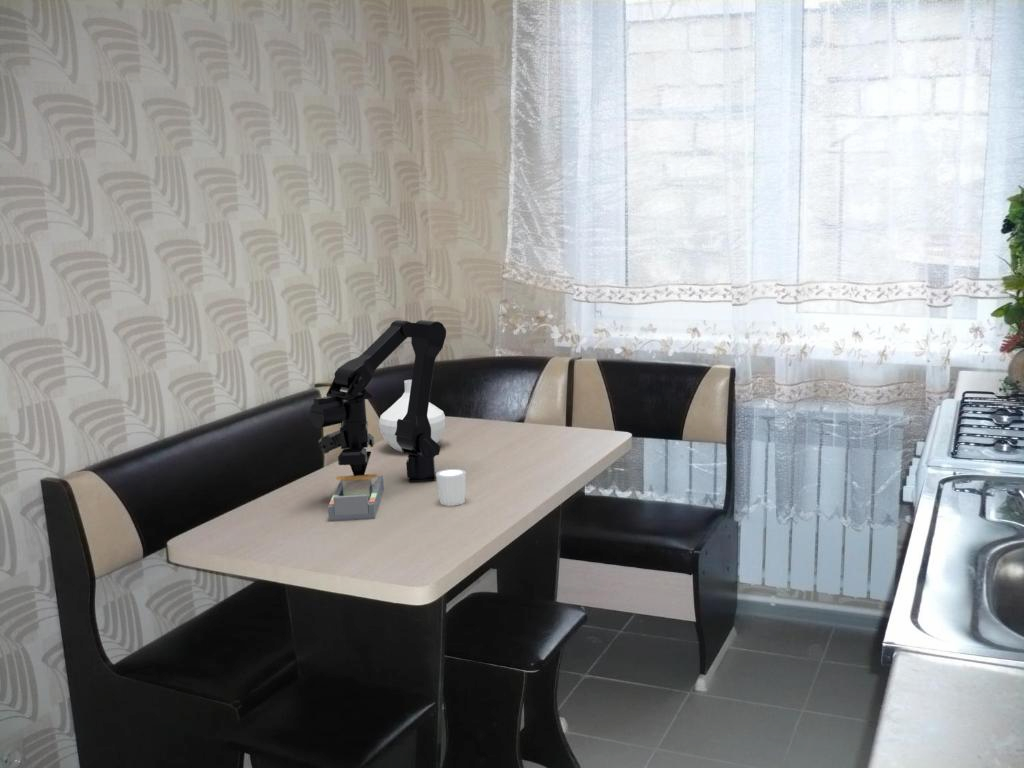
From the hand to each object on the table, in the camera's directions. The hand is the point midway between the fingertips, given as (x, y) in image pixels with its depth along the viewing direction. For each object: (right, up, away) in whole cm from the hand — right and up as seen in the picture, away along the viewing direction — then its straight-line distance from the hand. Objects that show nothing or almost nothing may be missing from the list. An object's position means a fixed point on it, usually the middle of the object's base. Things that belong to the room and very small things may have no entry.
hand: (359, 484), depth 250 cm
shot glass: (+22, -4, -7) cm, 24 cm away
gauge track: (0, -4, -5) cm, 6 cm away
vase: (+9, +6, +44) cm, 45 cm away
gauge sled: (0, -2, -4) cm, 5 cm away
